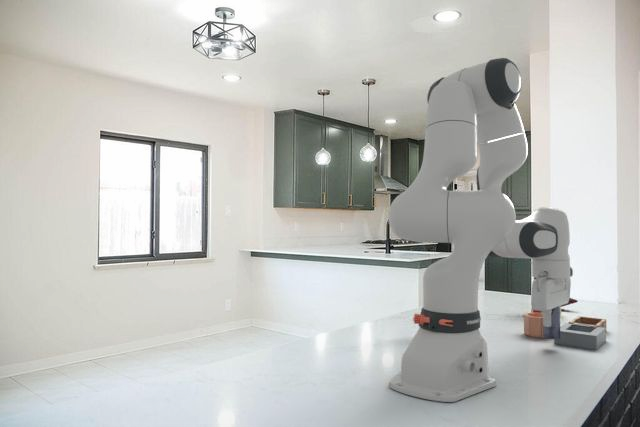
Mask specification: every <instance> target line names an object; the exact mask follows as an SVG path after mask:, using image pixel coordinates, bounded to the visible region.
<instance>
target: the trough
mask: <svg viewBox="0 0 640 427" xmlns="http://www.w3.org/2000/svg"><path fill="white" fill-rule="evenodd" d="M568 323H569V324H573V323H577V324H585V325H594V326H597V327H602V328H606V329H607V319H606V318H597V317H590V316H589V317H588V316H578V315H577V317H575V318H572V319H571V320H570V321H569V322H568Z"/></svg>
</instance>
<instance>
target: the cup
mask: <svg viewBox="0 0 640 427" xmlns="http://www.w3.org/2000/svg"><path fill="white" fill-rule="evenodd" d="M523 333H524V335H525V336H527V337H531V338H539V339H545V338H544V337H543V317H542V314H541V313H531V312H526V313H524V314H523Z"/></svg>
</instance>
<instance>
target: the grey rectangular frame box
mask: <svg viewBox="0 0 640 427" xmlns="http://www.w3.org/2000/svg"><path fill="white" fill-rule="evenodd" d="M553 341H554V342H553V343H556V345H561V344H562V346H563V345H564V346H568V347H569V346H570V347H575V348H576V347H577V348H582V349H583V348H584V349H589V350H598V349H599V348H600V347H601V346H603V344H605V342H607V327H606V328H602V327H597V326H594V325H585V324H577V323H573V324H569V322H565V323H563V324H562V325H560V339H553Z"/></svg>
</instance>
